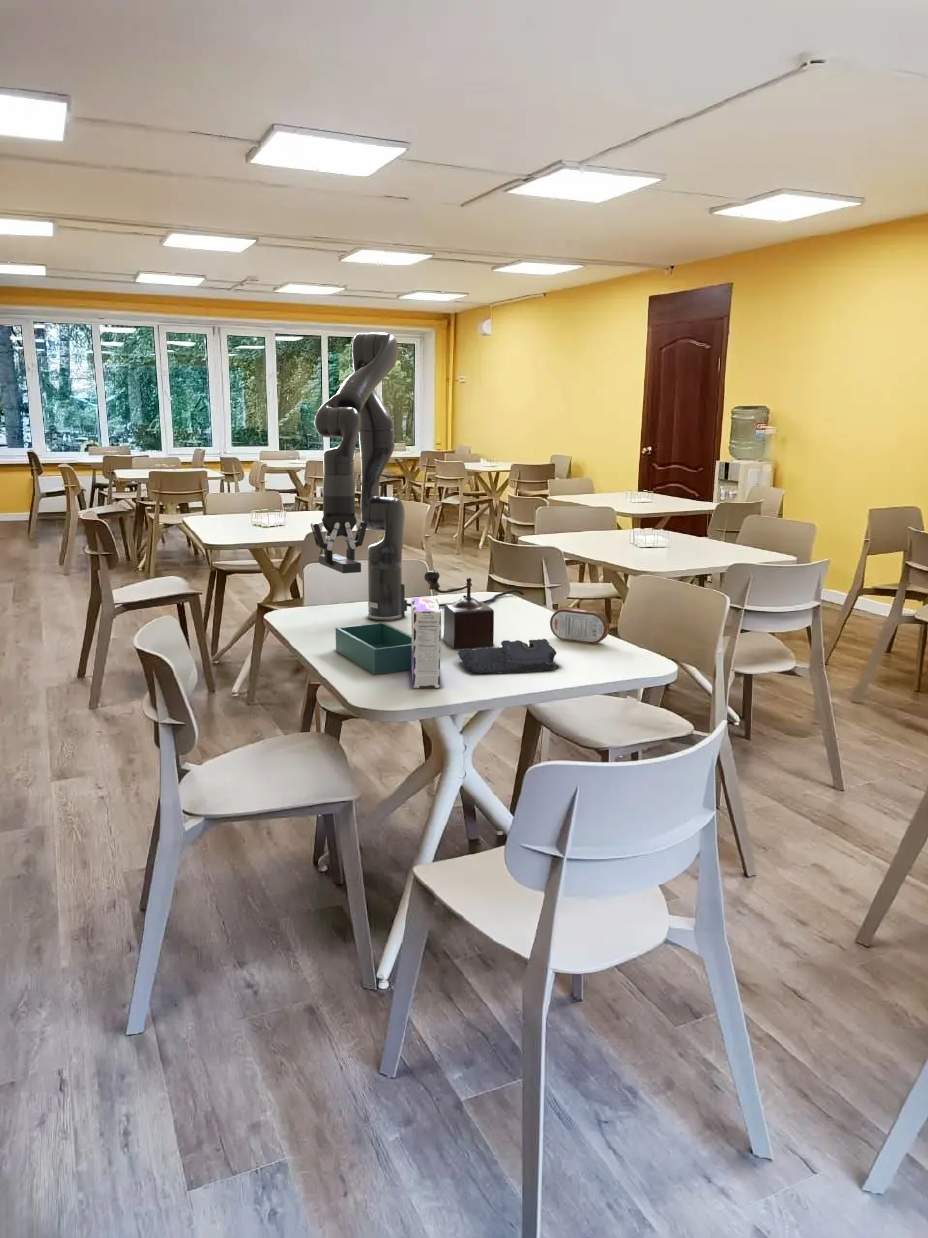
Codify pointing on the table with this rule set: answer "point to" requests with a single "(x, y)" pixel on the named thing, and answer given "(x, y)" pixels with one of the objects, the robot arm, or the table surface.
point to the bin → (376, 647)
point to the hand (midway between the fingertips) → (339, 564)
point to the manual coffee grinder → (464, 618)
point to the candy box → (425, 642)
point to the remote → (342, 564)
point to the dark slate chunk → (510, 657)
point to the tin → (579, 625)
